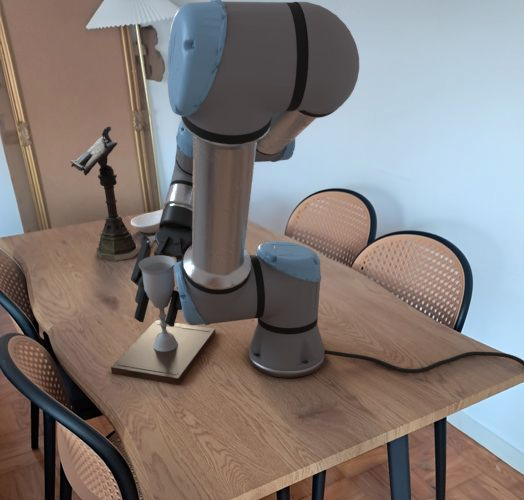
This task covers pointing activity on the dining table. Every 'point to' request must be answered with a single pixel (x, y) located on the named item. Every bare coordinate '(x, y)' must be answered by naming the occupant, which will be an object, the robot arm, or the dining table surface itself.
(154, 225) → the spoon rest
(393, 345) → the dining table surface
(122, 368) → the serving board
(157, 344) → the chalice
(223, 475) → the dining table surface
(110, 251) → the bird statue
